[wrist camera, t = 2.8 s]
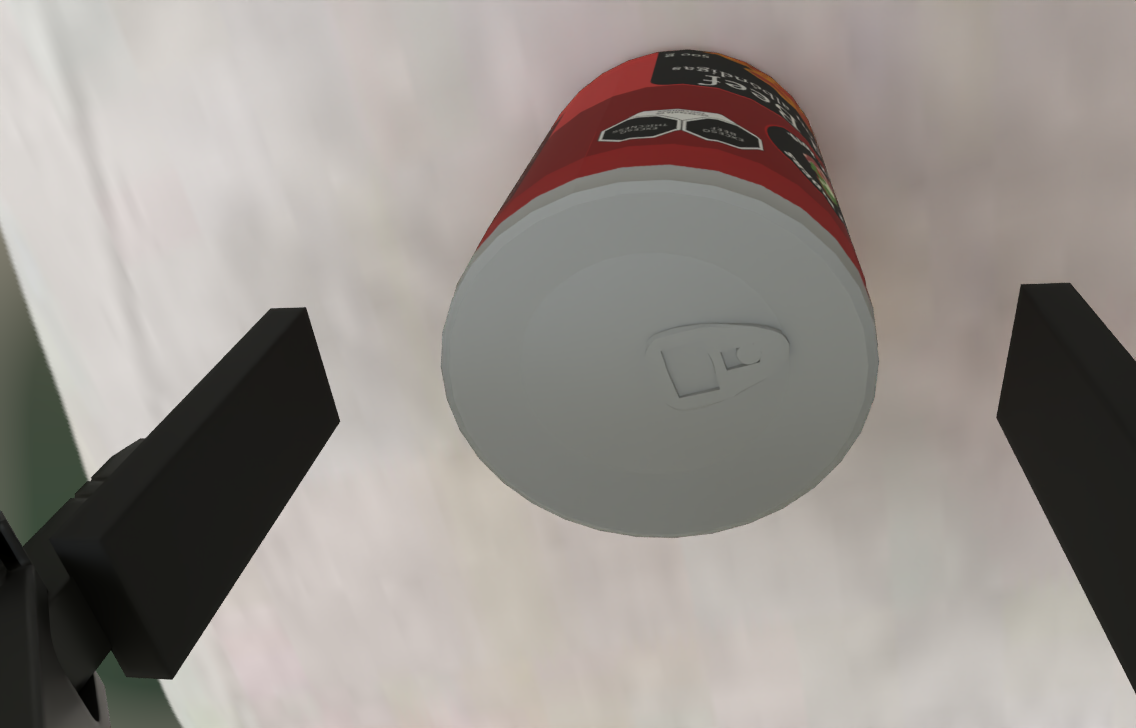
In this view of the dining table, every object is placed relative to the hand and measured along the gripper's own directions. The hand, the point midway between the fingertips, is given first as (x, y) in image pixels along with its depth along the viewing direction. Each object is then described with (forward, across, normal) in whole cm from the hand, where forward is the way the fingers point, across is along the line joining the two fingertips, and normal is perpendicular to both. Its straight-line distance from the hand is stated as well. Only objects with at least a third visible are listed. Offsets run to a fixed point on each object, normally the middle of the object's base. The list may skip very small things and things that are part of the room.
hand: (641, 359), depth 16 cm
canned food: (+10, 0, 0) cm, 10 cm away
